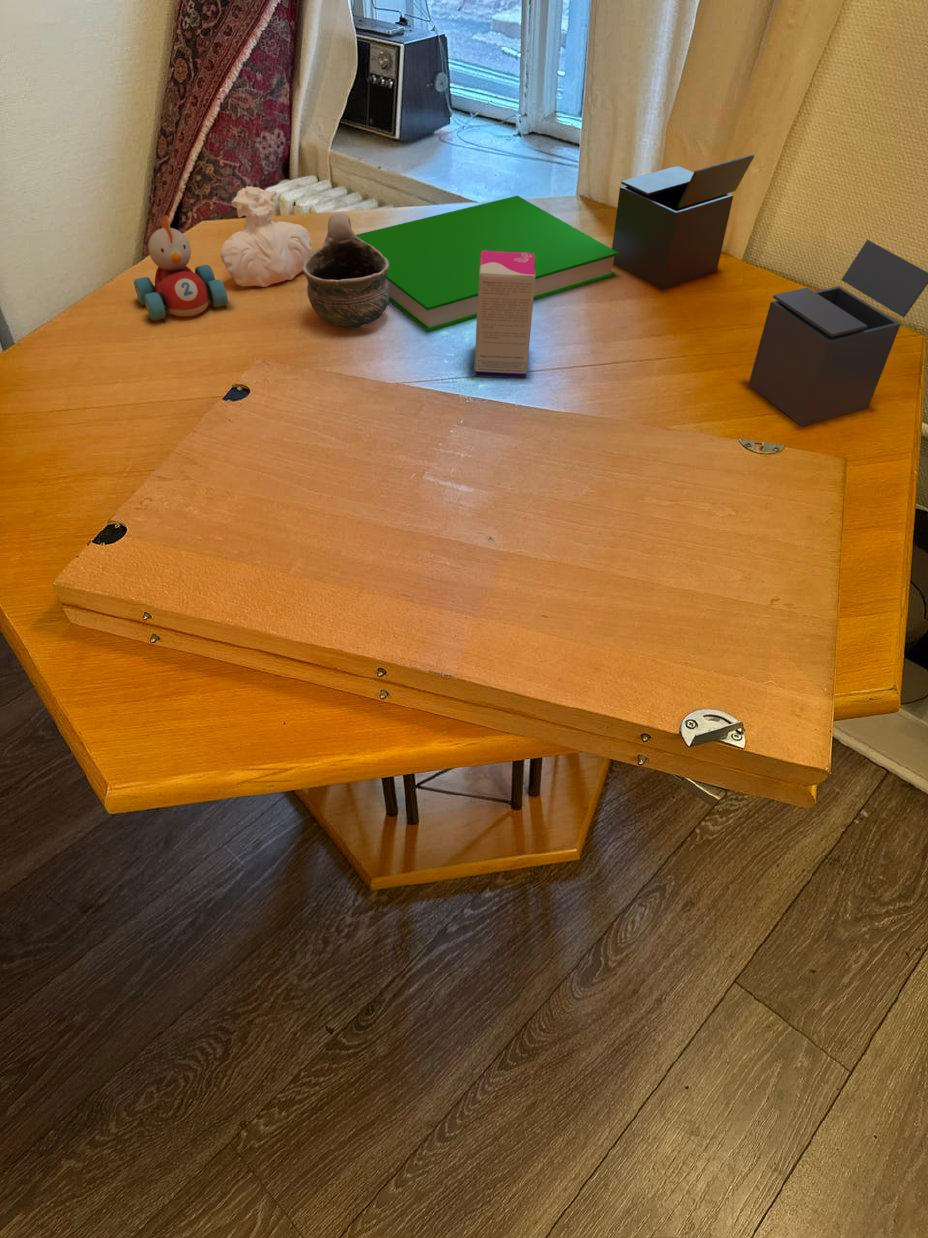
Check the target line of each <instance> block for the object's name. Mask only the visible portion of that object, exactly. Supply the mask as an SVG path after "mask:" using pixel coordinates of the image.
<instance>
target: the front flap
mask: <svg viewBox="0 0 928 1238" xmlns="http://www.w3.org/2000/svg"><path fill="white" fill-rule="evenodd" d="M840 281H841V282H844V283H845V284H847V285H849V286H850V287H852V288H854V289H855V290H857V291H859V292H860V293H862V294H864V295H866V296H867V297H869V298H870V299H872V300H874V301H875V302H876V303H879V304H880V305H881V306H883V307H885V308H886V309H889V310H890V311H892V312H894V313H895V314H896V315H899V316H900V317H902V318H906V316H907V314H908V313H909V312H910V310H911V309H912V307H913V306H914V305H915V303H916V302H917V300H918V299H919V297H920V296H921V294H922V293H923V292H924V290H925V289H926V287H927V286H928V271H927V270H924V269H923V268H920V267H919V266H917V265H915V264H913V263H912V262H910V261H908V260H906V259H904V258H902V257H901V256H898V255H897V254H895V253H894V252H891V251H890V250H888V249H886V248H884V247H883V246H881V245H879V244H877V243H875V242H873V241H871V240H869V239H866V240H865V243H864V244H863V245H862V247H861V249H860V250H859V251H858V253H857V255H856V256H855V257H854V259H853V261H852V262H851V264H850V265H849V267H848V269H847V270H846V272H845V274H844V275H843V276H842V277H841V280H840Z"/></svg>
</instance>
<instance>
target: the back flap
mask: <svg viewBox="0 0 928 1238" xmlns="http://www.w3.org/2000/svg"><path fill="white" fill-rule="evenodd" d="M754 158H755V154H749V155H746V156H741V157H739V158H734V159H732V160H729V161H725V162H721V163H717V164H714V165H710V166H707V167H703V168H700V169H697V170H694V171H693V172H694V174H693V176H692V178H691V180H690V182H689V184H688V186H687V188H686V190H685V192H684V194H683V196H682V198H681V200H680V202H679V204H678V206H677V207H678V208H681V207H685V206H688V205H691V204H695V203H698V202H701V201H704V200H708V199H711V198H714V197H718V196H721V195H724V194H727V193H729V194H731V193H733V192H736V191H737V189H738V187H739V185H740V184H741V182H742V180H743V178H744V176H745V175H746V173H747V171H748V169H749V167H750V166H751V163H752V161H753V160H754Z"/></svg>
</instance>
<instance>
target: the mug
mask: <svg viewBox="0 0 928 1238" xmlns="http://www.w3.org/2000/svg"><path fill="white" fill-rule="evenodd" d="M356 235H357V234H356V233H355V232H354V230H353V229H352V225H351V218H350V217H349V215H348V214H345V213H335V214H332V215H330V216H329V218H328V221H327V233H326V236H325V239H324V242H323V245H321V246H320V247H319V248H316V249H314V250H312V252H311V253H310V254H309V255H308V256H307V257H306V259H305V260H304V262H303V267H302V270H303V271H302V274H304V276H305V278H306V280H307V287H306V289H307V298H308V302H309V303H310V305H311V307H312V309H313V310H314V312H315V314H316V315H318V317H319V318H320V319H322V321H324V322H325V323H328V324H330V325H333V326H336V327H339V328H347V329H348V328H349V329H350V328H351V329H357V328H361V327H362V326H363V327H364V326H367V325H369V324H371V323H372V322H374V321H376V320H378V319H380V317H381V316H383V314H384V313H385V311H386V310H387V307H388V305H389V287H388V283H387V280H386V276H387V272H388V268H389V262H388V260H387V259H386V258H385V257H384V256H383V255H382V254H381V253H380V252H379V251H378V250H377V249H376V248H374V247H373V246H371V245H370V244H368V243H366V242H364V241H362V240H361V239H360V238H358V237H357V236H356Z"/></svg>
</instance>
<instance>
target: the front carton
mask: <svg viewBox="0 0 928 1238" xmlns="http://www.w3.org/2000/svg"><path fill="white" fill-rule="evenodd" d="M772 298H773V299H774V300H772V301H770V303H769V308H768V310H767V315H766V319H765V322H764V324H763V329H762V333H761V336H760V340H759V344H758V347H757V351H756V354H755V358H754V363H753V366H752V369H751V373H750V376H749V380H748V383H747V384H748V386H749V387H751V388H752V389H753V390H755V391H756V392H757V393H758V394H759V395H761V396H762V397H763V398H765V399H766V400H767V401H769V403H771V404H772V405H774V406H775V407H776V408H777V409H778V410H780V411H781V412H783V413H784V414H785V415H786V416H788V417H789V418H790V419H791V420H793V421H794V422H795V423H797V424H798V425H799V426H800V427H806V426H808V425H813V424H816V423H820V422H823V421H826V420H831V419H833V418H838V417H841V416H845V415H847V414H852V413H855V412H858V411H862V410H865V409H868V408H870V404H871V402H872V400H873V397H874V394H875V393H876V390H877V387H878V384H879V383H880V382H879V381H880V379H881V376H882V374H883V372H884V369H885V366H886V364H887V361H888V359H889V356H890V354H891V351H892V348H893V346H894V343H895V340H896V338H897V336H898V333H899V331H900V329H901V325H902V323H900V322H899V321H897V320H896V319H894V318H892V317H891V316H889V315H887V314H886V313H884V312H883V311H881V310H879V309H877V308H876V307H874V306H872V305H871V304H870V303H868V302H866V301H864V300H863V299H861V298H860V297H858V296H856V295H855V294H853V293H852V292H850V291H848V290H846V289H845V288H843V287H842V286H840V285H838V286H833V287H830V288H825V289H820V290H816V291H813V290H812V289H811V288H810V287H802V288H798V289H793V290H790V291H784V292H781V293H776V294H773V296H772Z"/></svg>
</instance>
